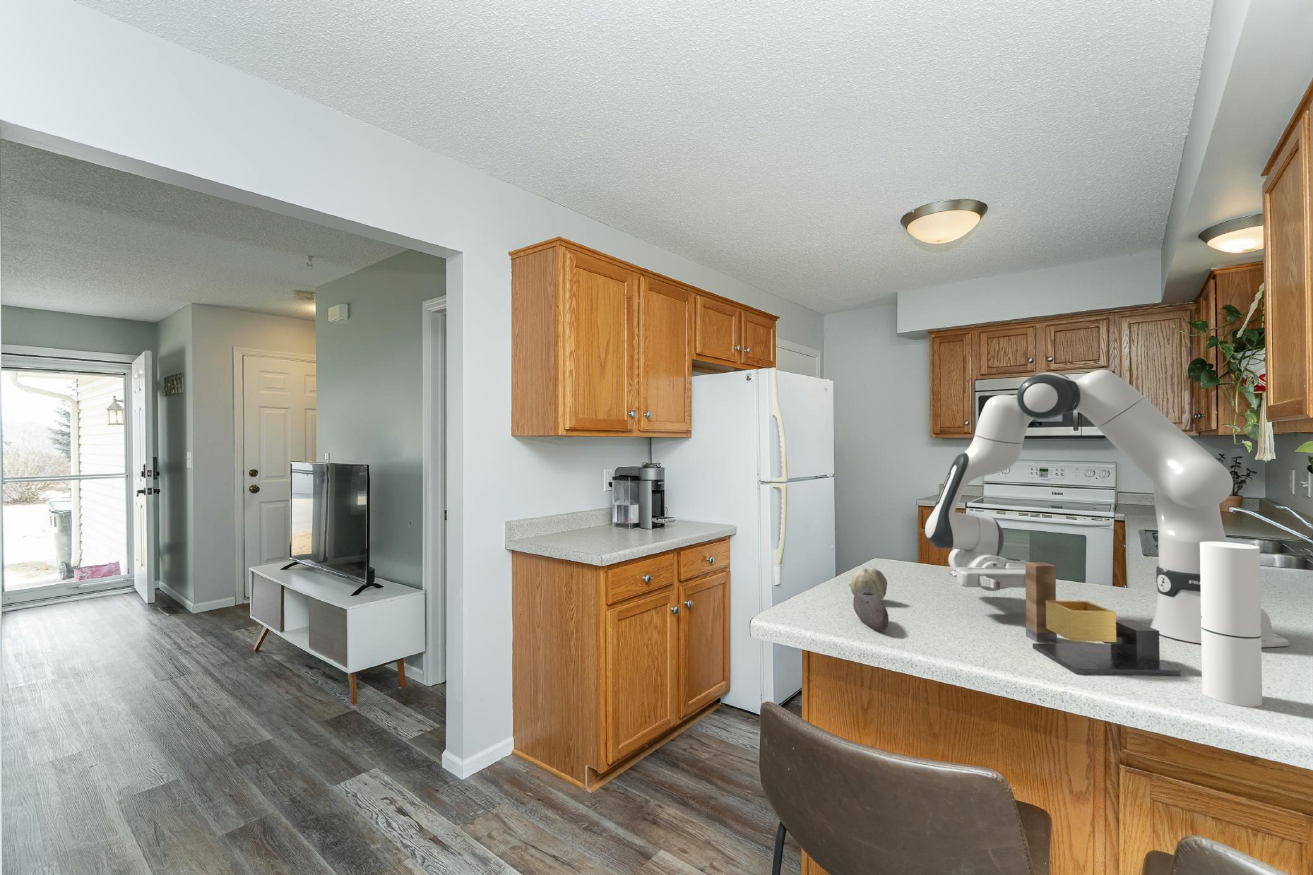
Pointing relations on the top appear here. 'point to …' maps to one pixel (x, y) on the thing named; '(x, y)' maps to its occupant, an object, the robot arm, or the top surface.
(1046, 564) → the rail post
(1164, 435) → the robot arm
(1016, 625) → the top surface
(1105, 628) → the cup bracket
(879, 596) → the garlic bulb
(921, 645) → the top surface
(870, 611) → the perforated stone tool
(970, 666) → the top surface
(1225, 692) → the cylindrical container
